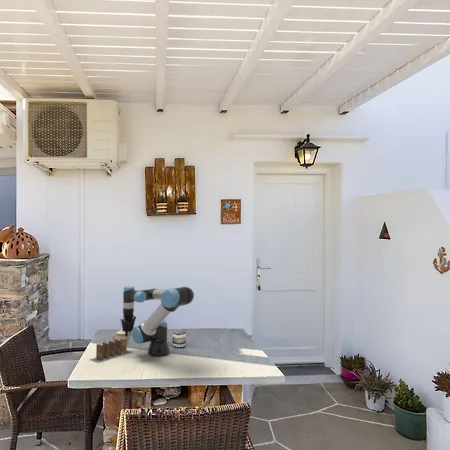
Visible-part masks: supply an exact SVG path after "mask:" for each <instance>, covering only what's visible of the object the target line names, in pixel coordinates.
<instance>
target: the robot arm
mask: <svg viewBox="0 0 450 450" xmlns="http://www.w3.org/2000/svg"><path fill="white" fill-rule="evenodd" d="M122 295H123V296H122V298H123V299H122V300H123V302H122V304H123V305H122V307H123V309H122V314H123V315H122V318H119V320H120V321H119V322H120V324H121V329H123V331H124V332H125V336H126V339H127V341H128V342H130V341H131V340H130V339H131V335H132V339H133V341H134V342H135V343H136V344H139V345H140V344H144V343H149V342H150V344H149V346H148V349H147V354H148V355H149V356H151V357H164V356H165V357H166V356H168V355H169V354H170V348H169V345H168V323H167V321H165V320H166V318H167V317H168V316H169V315H170V314H171V313H173V312H175V311H177V309H178V308H179V307H181V306H187V305H189V304H191V303H192V302H193V300H194V298H195V292H194V291H193V289H191V288H190V287H189V286H182V287H175V288H173V287H172V288H150V289H143V290H135V287H134V286H133V285H126V286H123V292H122ZM152 300H153V301H155V300H157V301H158V300H159V301H160V304H159V306H157V308H155V310H154V311H153V312H152V314H151V315H150V316H149V317H148V319H146V320H143V321H142V322H141V323H140V324H139V325H137V326H135V322H136V319H137V316H135V315H134V312H135V311H134V309H135V302H136V303H144V302H146V301H152ZM131 333H132V334H131Z"/></svg>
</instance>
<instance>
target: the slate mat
mask: <svg viewBox="0 0 450 450" xmlns="http://www.w3.org/2000/svg"><path fill="white" fill-rule="evenodd" d="M132 353H134V352H133V351H131V350H127V353H121V355H117V354H115V357H112V356H109V358H108V359H106V358H103V360H98V359H96V357H93V358H90V359H89V361H91V362H94V363H97V364H99V363H102V362H105V361H109V360H112V359H116V358H120V357H123V356H126V355H129V354H132Z"/></svg>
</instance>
